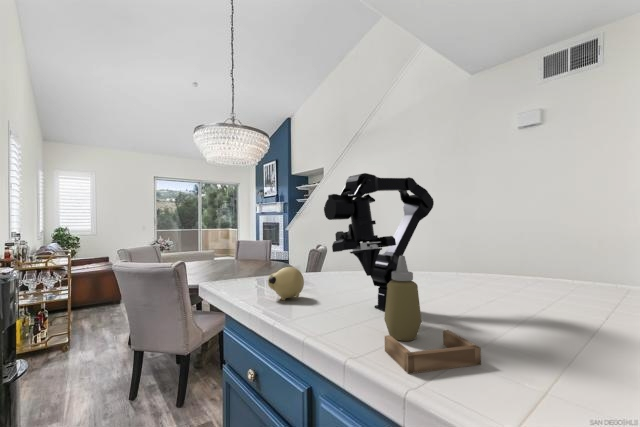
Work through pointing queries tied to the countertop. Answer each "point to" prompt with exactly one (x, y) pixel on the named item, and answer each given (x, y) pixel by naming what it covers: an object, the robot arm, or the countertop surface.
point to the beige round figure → (287, 282)
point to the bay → (435, 354)
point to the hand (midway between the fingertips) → (369, 275)
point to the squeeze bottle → (402, 304)
